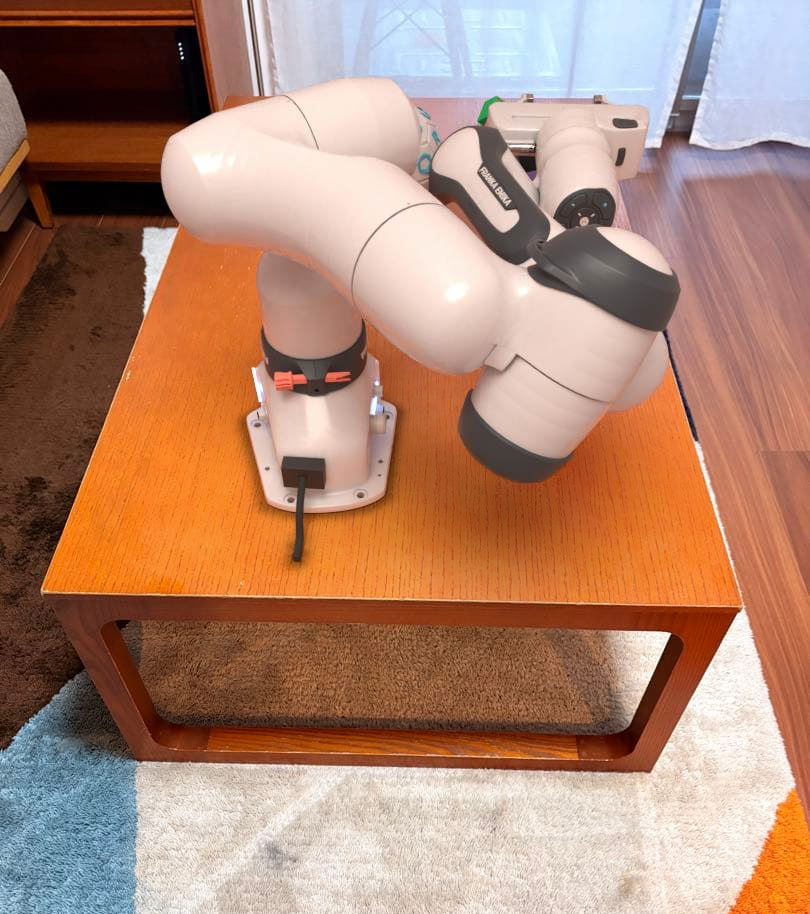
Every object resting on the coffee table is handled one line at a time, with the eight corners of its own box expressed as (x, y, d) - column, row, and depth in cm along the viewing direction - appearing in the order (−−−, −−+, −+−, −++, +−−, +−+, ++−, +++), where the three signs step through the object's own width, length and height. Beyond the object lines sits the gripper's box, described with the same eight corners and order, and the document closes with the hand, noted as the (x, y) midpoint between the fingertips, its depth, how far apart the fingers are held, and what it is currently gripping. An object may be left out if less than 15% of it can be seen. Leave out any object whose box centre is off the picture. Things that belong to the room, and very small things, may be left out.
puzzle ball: (349, 223, 131) (344, 128, 120) (352, 175, 141) (347, 83, 129) (443, 223, 132) (448, 128, 120) (439, 175, 141) (443, 83, 129)
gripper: (484, 174, 102) (481, 122, 111) (648, 178, 102) (633, 126, 111) (488, 122, 97) (485, 72, 106) (661, 126, 97) (644, 76, 106)
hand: (562, 100), depth 108 cm, fingers open, 8 cm apart
